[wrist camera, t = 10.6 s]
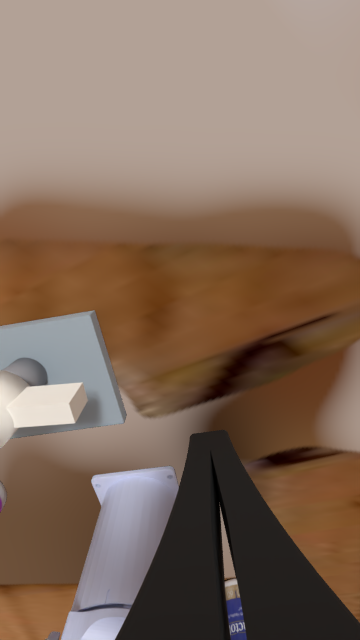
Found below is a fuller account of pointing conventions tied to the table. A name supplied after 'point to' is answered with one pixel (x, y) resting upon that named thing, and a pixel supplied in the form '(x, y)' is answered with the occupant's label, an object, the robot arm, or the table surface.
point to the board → (64, 366)
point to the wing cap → (37, 404)
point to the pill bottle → (234, 610)
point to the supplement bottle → (2, 496)
